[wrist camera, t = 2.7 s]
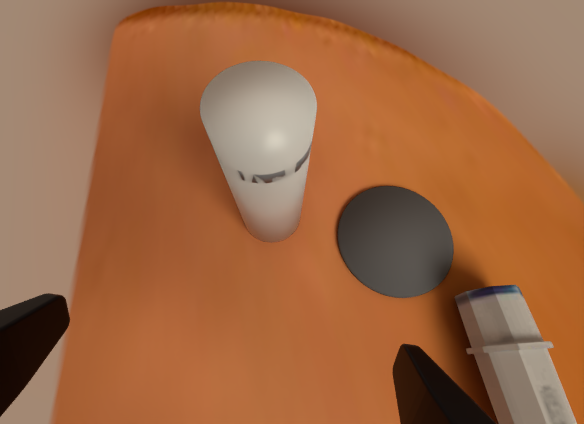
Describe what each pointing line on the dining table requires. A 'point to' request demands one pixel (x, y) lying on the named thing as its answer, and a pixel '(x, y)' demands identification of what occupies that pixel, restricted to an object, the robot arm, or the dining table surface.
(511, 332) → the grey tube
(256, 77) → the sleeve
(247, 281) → the dining table surface
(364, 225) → the pad
